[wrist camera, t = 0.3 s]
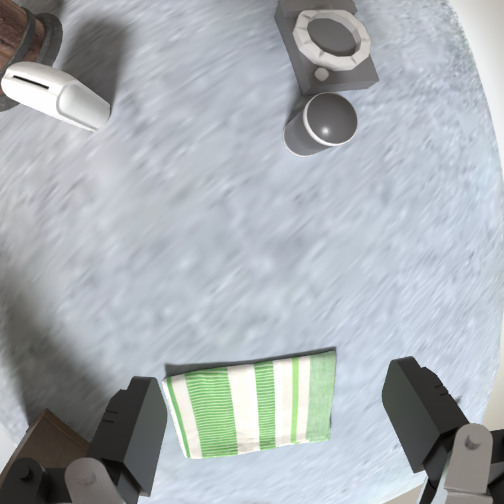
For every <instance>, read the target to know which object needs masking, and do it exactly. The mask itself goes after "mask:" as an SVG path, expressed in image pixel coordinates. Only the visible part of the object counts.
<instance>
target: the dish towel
mask: <svg viewBox="0 0 504 504" xmlns="http://www.w3.org/2000/svg"><path fill="white" fill-rule="evenodd" d="M335 373H336V354H335V351H328V352H325V353H320V354H315V355H308V356H302V357H294V358H287V359H280V360H273V361H266V362H261V363H255V364H246V365H237V366H228V367H218V368H213V369H205V370H197V371H193V372H188V373H184V374H181V375H176V376H170V377H167V378H165V379H163V380H162V383H163V389H164V392H165V394H166V398H167V402H168V405H169V409H170V412H171V416H172V419H173V423H174V426H175V430H176V433H177V436H178V439H179V442H180V445H181V448H182V450H183V452H184V455H185V457H186V458H194V459H199V458H213V457H224V456H232V455H238V454H244V453H249V452H254V451H260V450H268V449H273V448H276V447H279V446H283V445H290V444H298V443H305V442H322V441H327V440H329V438H330V413H331V406H332V399H333V390H334V383H335Z"/></svg>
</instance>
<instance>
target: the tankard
mask: <svg viewBox="0 0 504 504" xmlns="http://www.w3.org/2000/svg"><path fill="white" fill-rule="evenodd" d="M62 36H63V30H62V24H61V22H60V20H59V19H58V18H57V17H56V16H54V15H52V14H47V13H42V14H37V15H33V14H32V13H31V12H30V11H29V10H27V9H26V8H24V7H19V6H18V5H17V4H15V3H14V2H13V1H11V0H0V112H3V111H6V110H9V109H11V108H13V107H15V106H17V105H18V104H20V102H17V101H15V100H13V99H11V98H9V97H8V96H7V95H6V94H5V93H4V91H3V90H2V86H1V81H2V78H3V77H4V75H5V73H6V70H7V68H8V67H10V66H11V65H13V64H15V63H18V62H34V63H39V64H43V65H46V66H49V67H52V65H53V63H54V62H55V60H56V57H57V55H58V53H59V50H60V46H61V43H62Z"/></svg>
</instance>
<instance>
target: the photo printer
mask: <svg viewBox="0 0 504 504" xmlns="http://www.w3.org/2000/svg"><path fill="white" fill-rule="evenodd" d="M1 86H2V90H3V91H4V93H5V94H6V95H7V96H8V97H9V98H11V99H13V100H15V101H17V102H20V103H22V104H24V105H27V106H29V107H32V108H34V109H36V110H39V111H41V112H43V113H46V114H48V115H50V116H53V117H55V118H57V119H60V120H62V121H65V122H68V123H70V124H73V125H76V126H78V127H81V128H84V129H87V130H91V131H98V129H100V128H101V127H103V126H104V125H105V124H106V122H107V121H108V119H109V116H110V109H109V108H110V104H109V103H108V102H106V101H105V100H104V99H102V98H101V97H100V96H98V95H97V94H96V93H94V92H93V91H92V90H90V89H89V88H87V87H86V86H85V85H83V84H82V83H81V82H79V81H78V80H77V79H75V78H74V77H73V76H71V75H69V74H67V73H65V72H63V71H61V70H58V69H55V68H52V67H49V66H46V65H43V64H39V63H34V62H18V63H15V64H13V65H11V66H10V67H8V68H7V70H6V73H5V75H4V77H3V78H2V81H1Z"/></svg>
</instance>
